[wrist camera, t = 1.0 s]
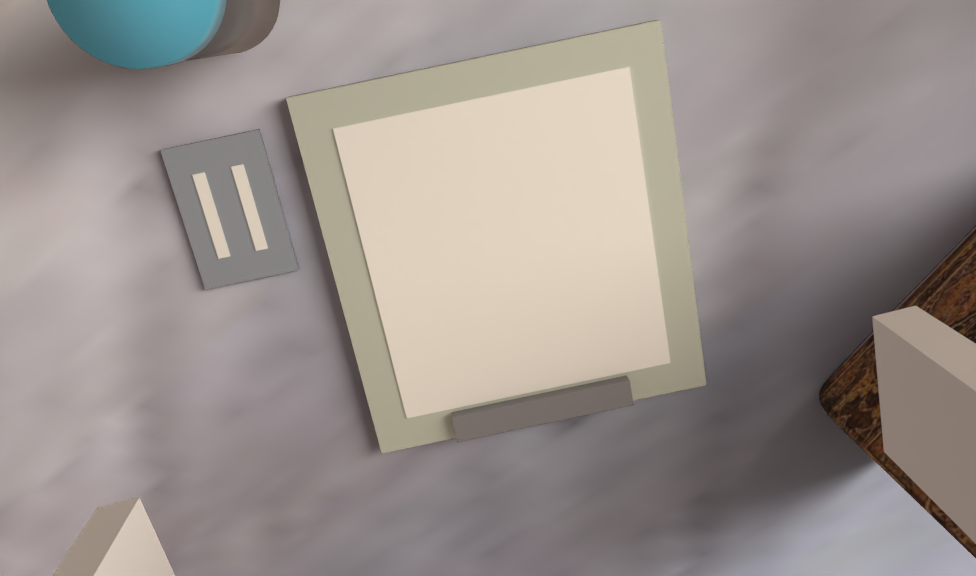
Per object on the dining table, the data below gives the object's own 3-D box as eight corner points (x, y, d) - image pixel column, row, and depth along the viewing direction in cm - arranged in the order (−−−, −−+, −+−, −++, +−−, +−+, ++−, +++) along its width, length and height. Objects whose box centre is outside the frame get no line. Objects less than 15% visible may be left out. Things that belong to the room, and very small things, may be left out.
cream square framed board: (289, 96, 33) (283, 99, 32) (655, 20, 33) (665, 19, 32) (382, 444, 38) (380, 460, 37) (701, 377, 38) (710, 390, 37)
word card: (162, 149, 33) (159, 150, 33) (259, 129, 33) (257, 130, 33) (206, 287, 35) (204, 290, 35) (298, 268, 35) (297, 270, 35)
